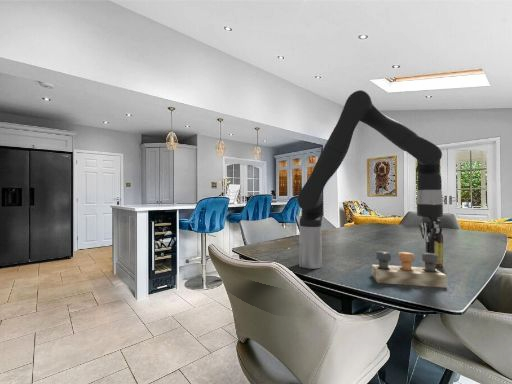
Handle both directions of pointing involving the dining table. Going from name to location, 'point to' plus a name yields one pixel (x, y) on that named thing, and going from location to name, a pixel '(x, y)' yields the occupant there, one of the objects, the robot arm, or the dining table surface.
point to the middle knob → (406, 260)
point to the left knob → (383, 259)
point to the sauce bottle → (439, 249)
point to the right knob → (429, 261)
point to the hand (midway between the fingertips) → (430, 252)
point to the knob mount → (409, 276)
